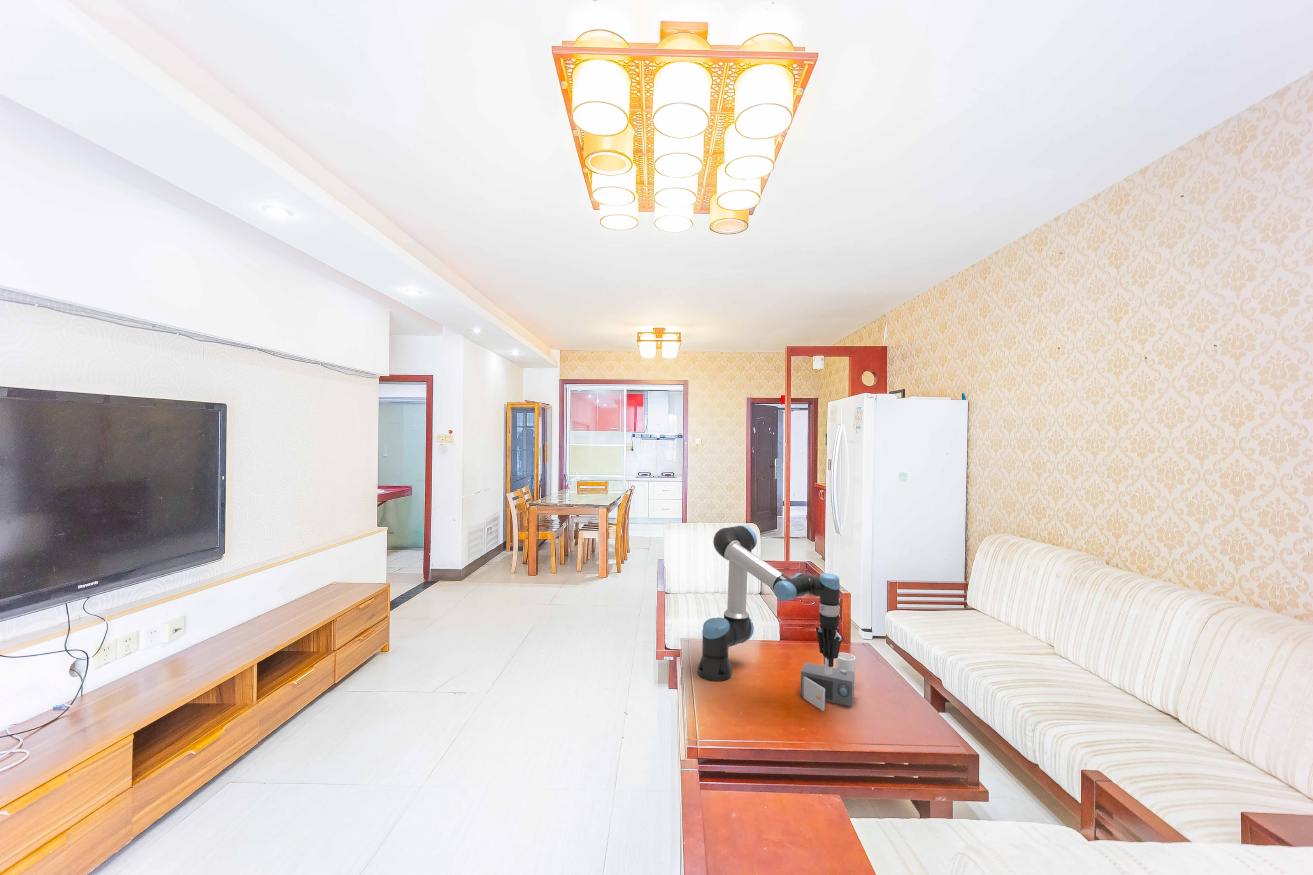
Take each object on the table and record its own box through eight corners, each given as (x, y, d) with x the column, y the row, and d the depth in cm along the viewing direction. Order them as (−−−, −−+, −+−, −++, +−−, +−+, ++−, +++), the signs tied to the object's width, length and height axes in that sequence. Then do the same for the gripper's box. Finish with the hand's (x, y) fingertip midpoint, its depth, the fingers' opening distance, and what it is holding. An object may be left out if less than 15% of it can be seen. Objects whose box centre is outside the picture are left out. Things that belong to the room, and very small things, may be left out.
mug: (824, 680, 236) (824, 652, 236) (834, 674, 242) (834, 648, 242) (849, 690, 227) (849, 661, 227) (859, 684, 233) (859, 656, 233)
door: (799, 697, 219) (800, 676, 219) (803, 696, 220) (804, 675, 220) (820, 711, 208) (821, 689, 208) (824, 710, 209) (825, 688, 209)
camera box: (799, 697, 219) (800, 670, 219) (804, 685, 230) (805, 659, 230) (851, 708, 211) (852, 681, 211) (854, 696, 222) (854, 669, 222)
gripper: (810, 610, 217) (809, 668, 216) (834, 620, 205) (833, 682, 205) (824, 608, 220) (824, 665, 220) (848, 617, 208) (847, 678, 208)
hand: (828, 673), depth 212 cm, fingers closed
